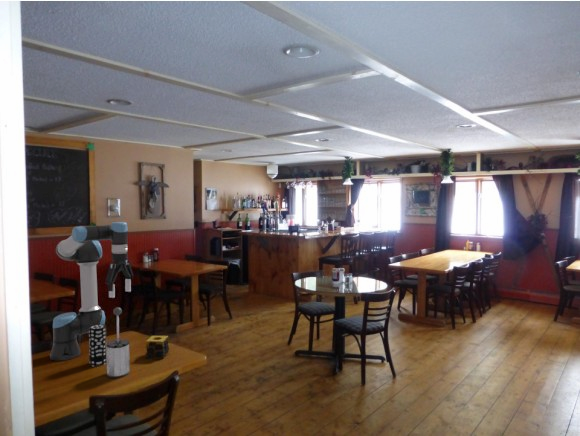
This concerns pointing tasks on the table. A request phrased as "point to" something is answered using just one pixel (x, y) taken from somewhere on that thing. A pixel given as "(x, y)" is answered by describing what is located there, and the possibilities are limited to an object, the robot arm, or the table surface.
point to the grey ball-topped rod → (117, 312)
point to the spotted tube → (97, 345)
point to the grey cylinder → (118, 358)
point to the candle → (157, 347)
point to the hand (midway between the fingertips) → (120, 294)
